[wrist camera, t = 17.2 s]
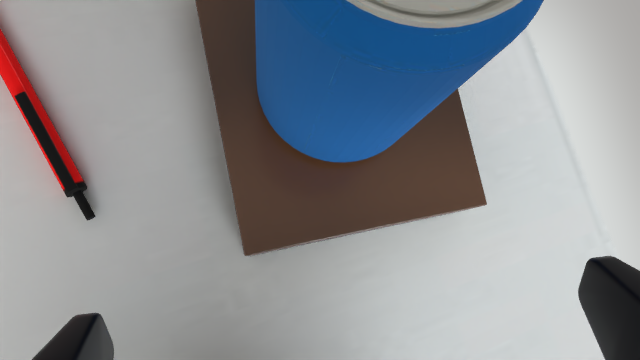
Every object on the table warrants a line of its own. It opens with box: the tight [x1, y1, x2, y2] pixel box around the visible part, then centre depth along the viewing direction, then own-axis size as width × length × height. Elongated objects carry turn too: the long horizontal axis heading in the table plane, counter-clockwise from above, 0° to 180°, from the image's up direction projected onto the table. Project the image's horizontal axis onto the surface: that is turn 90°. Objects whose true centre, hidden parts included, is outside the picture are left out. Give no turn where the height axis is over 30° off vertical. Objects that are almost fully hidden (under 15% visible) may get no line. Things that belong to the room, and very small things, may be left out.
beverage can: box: [255, 0, 544, 162], centre depth 16 cm, size 6×6×12 cm
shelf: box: [195, 0, 487, 256], centre depth 23 cm, size 12×10×3 cm
